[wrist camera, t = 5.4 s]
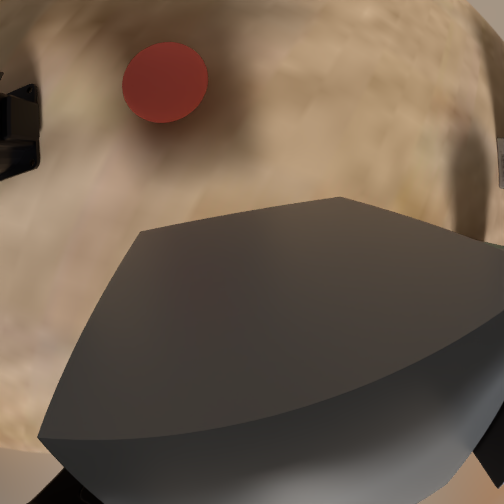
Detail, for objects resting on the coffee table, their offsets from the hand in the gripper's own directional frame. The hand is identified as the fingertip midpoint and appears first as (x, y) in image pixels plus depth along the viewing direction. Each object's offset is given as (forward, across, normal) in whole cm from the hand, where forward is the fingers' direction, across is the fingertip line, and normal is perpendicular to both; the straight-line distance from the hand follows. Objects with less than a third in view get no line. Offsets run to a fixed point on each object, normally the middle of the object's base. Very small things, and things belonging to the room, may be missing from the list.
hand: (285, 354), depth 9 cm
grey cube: (+4, 0, 0) cm, 4 cm away
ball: (+10, +2, -11) cm, 15 cm away
